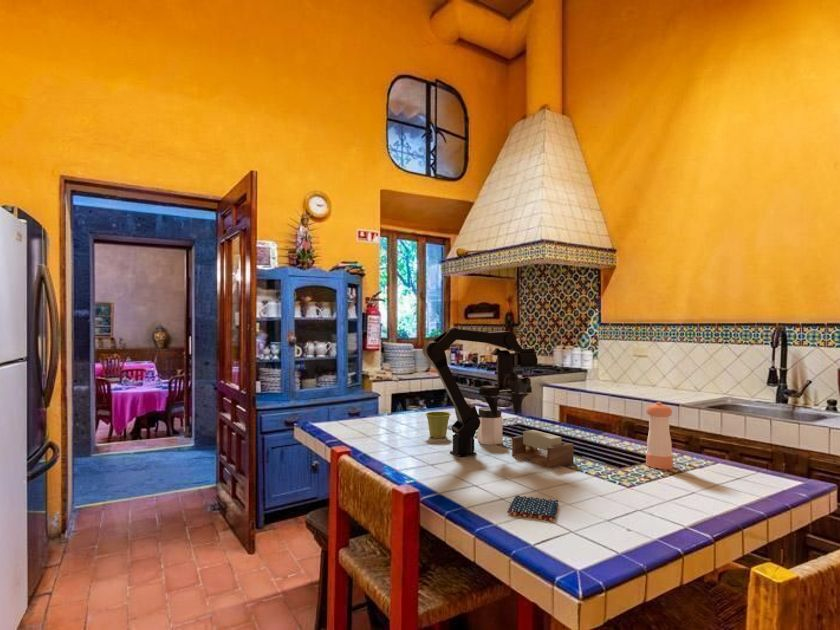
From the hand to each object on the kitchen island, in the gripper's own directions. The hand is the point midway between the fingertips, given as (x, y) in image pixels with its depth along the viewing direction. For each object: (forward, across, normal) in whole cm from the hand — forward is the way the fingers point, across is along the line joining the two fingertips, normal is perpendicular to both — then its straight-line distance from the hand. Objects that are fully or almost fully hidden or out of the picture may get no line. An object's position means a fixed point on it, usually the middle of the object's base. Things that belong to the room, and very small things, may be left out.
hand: (505, 415), depth 168 cm
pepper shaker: (+12, +28, -37) cm, 48 cm away
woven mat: (+13, -30, -43) cm, 54 cm away
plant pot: (+12, -7, +30) cm, 33 cm away
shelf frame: (+12, +3, -14) cm, 18 cm away
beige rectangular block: (+8, +3, -14) cm, 16 cm away
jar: (+12, +4, +13) cm, 18 cm away
